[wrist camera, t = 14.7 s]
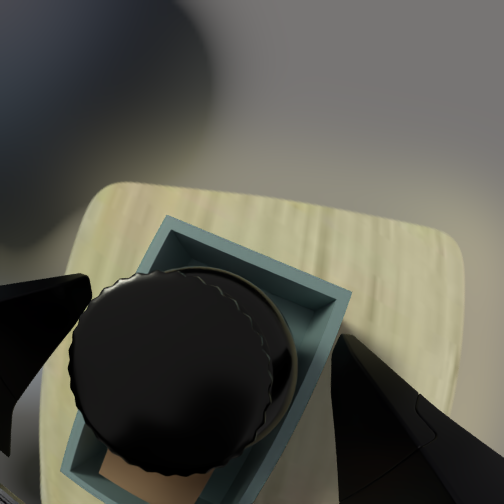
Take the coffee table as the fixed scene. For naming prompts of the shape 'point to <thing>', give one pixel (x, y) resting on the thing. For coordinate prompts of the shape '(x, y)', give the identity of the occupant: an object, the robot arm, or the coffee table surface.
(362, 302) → the coffee table surface
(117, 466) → the walnut cube
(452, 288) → the coffee table surface
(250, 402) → the supplement bottle
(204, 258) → the tote
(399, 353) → the coffee table surface
